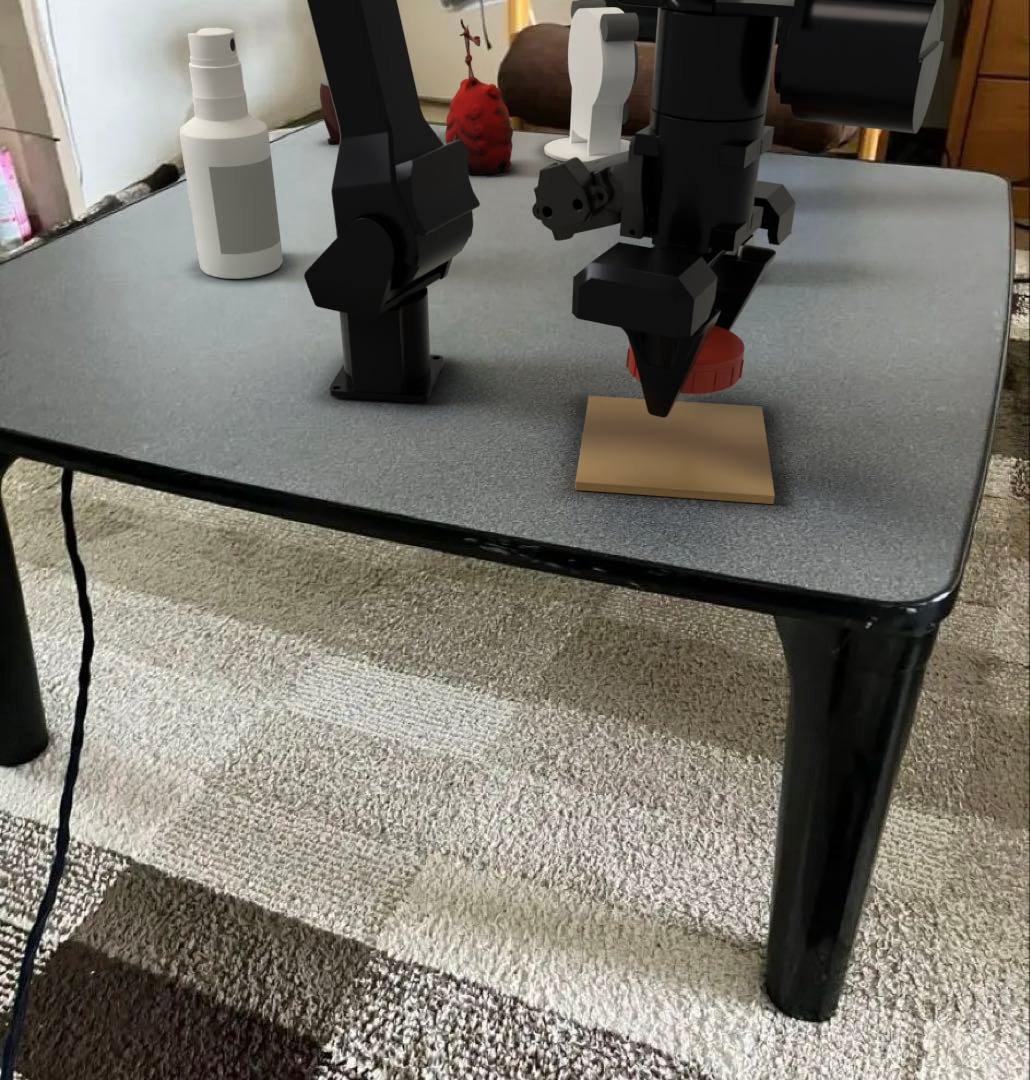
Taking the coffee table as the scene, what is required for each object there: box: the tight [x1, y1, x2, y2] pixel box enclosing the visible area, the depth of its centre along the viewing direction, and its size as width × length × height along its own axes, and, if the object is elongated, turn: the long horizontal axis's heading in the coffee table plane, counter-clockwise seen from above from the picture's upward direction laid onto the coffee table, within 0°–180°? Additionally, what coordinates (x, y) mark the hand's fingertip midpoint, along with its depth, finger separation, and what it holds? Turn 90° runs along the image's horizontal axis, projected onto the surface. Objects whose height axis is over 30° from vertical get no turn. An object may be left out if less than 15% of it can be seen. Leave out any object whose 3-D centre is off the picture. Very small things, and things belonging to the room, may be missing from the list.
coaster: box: [574, 395, 776, 505], centre depth 65 cm, size 11×11×1 cm
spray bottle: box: [179, 27, 284, 280], centre depth 86 cm, size 7×7×18 cm
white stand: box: [543, 0, 640, 163], centre depth 119 cm, size 12×11×15 cm
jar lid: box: [625, 325, 746, 395], centre depth 61 cm, size 6×6×2 cm
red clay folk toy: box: [444, 18, 514, 175], centre depth 112 cm, size 8×7×15 cm
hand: (678, 392), depth 63 cm, fingers closed on jar lid, 6 cm apart
